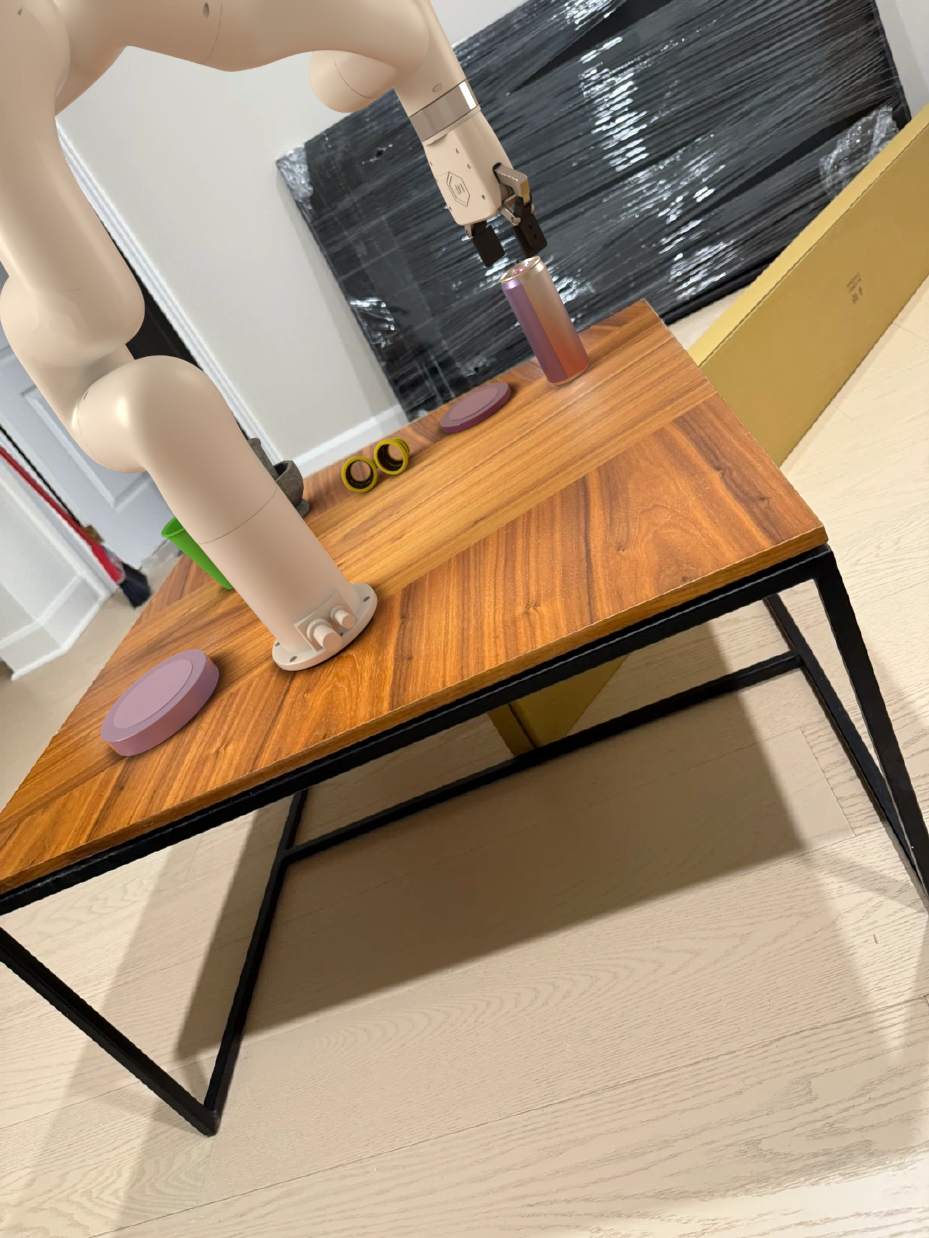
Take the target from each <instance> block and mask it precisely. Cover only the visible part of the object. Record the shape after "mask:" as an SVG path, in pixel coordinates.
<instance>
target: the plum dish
mask: <svg viewBox="0 0 929 1238" xmlns="http://www.w3.org/2000/svg"><path fill="white" fill-rule="evenodd" d="M511 395H512V390H511V388H510V385H508V383H507V382H505V381H498V382H492V383H489V384H486V385H483V386H482V387H480V388H478V389H475V390H474V391H472V392H470V393H468V394H466V395H465V396H463V397H462V398H461V399H459V400H457V401H456V402H455V403H453V404H452V405H451V406H450V407H449V408H448V409H447V410H446V411H445V412H444V414H443V415H442V416H441V417H440V420H439V426H440V428H441V429H442V430H443V432H444V433H447V434H454V433H458V432H462V431H464V430H467V429H470V428H472V427H474V426H476V425H479V424H480V423H481V422H483V421H485V420H486V419H488V418H489V417H491V416H493V415H494V414H495V413H496V412H497V411H499V410H500V409H502V407H503V406H504V405H505V404H506V403H507V402H508V401H509V399H510V397H511Z"/></svg>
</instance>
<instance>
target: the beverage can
mask: <svg viewBox="0 0 929 1238" xmlns="http://www.w3.org/2000/svg"><path fill="white" fill-rule="evenodd" d="M498 281H499V283H500V285H501V290H502V292H503V294H504V296H505V298H506V300H507V302H508V303H509V306H510V309H511V310H512V312H513V314H514V316H515V319H516V320H517V322H518V324H519V326H520V328H521V331H522V333H523V334H524V336H525V338H526V340H527V342H528V344H529V347H530V348H531V350H532V352H533V354H534V356H535V358H536V360H537V362H538V364H539V366H540V368H541V369H542V372H543V374H544V376H545V378H546V380H547V381H548V383H550V384H552V385H554V386H562V385H566V384H568V383H570V382H572V381H574V380H575V379H577V378H579V377H580V376H581V375H583V374H584V373H585V372H586V371H587V370H588V369H589V366H590V358H589V355H588V352H587V351H586V349H585V347H584V345H583V342H582V340H581V338H580V336H579V334H578V331H577V329H576V327H575V325H574V323H573V321H572V318H571V317H570V314H569V312H568V311H567V307H566V306H565V304H564V301H563V299H562V298H561V295H560V293H559V291H558V289H557V287H556V284H555V282H554V280H553V278H552V276H551V274H550V272H549V270H548V267H547V265H546V263H545V262H543V261H542V259H541V256H539V255H535V256H534V257H532V258H531V259H526V258H525V259H523V260H522V261H520V262H518V263H517V264H515V265H513V266H512V267H511V268H509V269H508V270H506V271H505V272H504V273H503V274H501V276H500V277H499V280H498Z"/></svg>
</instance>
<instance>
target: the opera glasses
mask: <svg viewBox="0 0 929 1238" xmlns="http://www.w3.org/2000/svg"><path fill="white" fill-rule="evenodd" d="M390 445H392V446H394V447H395V448H396V449H398V450H399V452H400V453H401V457H402V458H395V457H394V456H393V455H392V454H391V452H390ZM410 455H411V446H410V445H409V442H408V441H407V440H406V439H404V438H402V437H398V436H397V437H396V436H395V437H392V438H391V439H390V438H385V439H382V440H380V441H379V442H378V443H377V444H376V446H375V447H374V450H373V459H372V458H371V459H369V458H368V457H366V456H363V455H355V456H352V457H350V458H348V459H347V460H346V461H345V463H344V464H343V465H342V469H341V480H342V482H343V484H344V486H345V487H346V488H347V489H348V490H350V491H352V492H354V493H357V494H364V493H366V492H369V491H371V490H372V489H373V488H374V486H375V485H376V484H377V481H378V476H379V474H378V469H380V470H381V471H382V472H383V473H385V474H387V475H390V476H391V475H392V476H396V475H401V474H402V473H403V472H404V471H405V470H406V469H407V467H408V464H409V457H410ZM358 462H363V463H365V464H367V465H368V469H369V474H368V476H367V477H366V478H365V479H357V478H356V477H355V476H354V475H353V472H352V468H353V466H354V464H356V463H358Z"/></svg>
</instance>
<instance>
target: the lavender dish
mask: <svg viewBox="0 0 929 1238" xmlns="http://www.w3.org/2000/svg"><path fill="white" fill-rule="evenodd" d="M219 679H220V669H219V667H218V666H217V665H216V664H215V663H214V661H213V660H212V659H211V658H210V657H209V656H208V655H207V654H206V652H205V651H204V650H202V649H199V648H192V649H186V650H184V651H181V652H177V653H175V654H173V655H172V656H169V657H168V658H166V659H163V660H162V661H160V662H159V663H157V664H155V666H153V667H152V668H150V669H149V670H147V672H145V673H144V674H142V675H141V676H140V677H139V678H138V679H137V680H135V681H134V682H133V683H132V684H131V685H130V686H129V687H128V688H127V689H126V690H125V691H124V692H123V693H122V694H121V695H120V696H119V697H118V698H117V700H116V701H115V702H114V704H113V705H112V706H111V707H110V709H109V710H108V712H107V713H106V714H105V717H104V718H103V721H102V724H101V727H100V733H99V734H100V737H101V739H102V740H103V741H104V742H105V743H106V744H107V745H108V746H109V747H110V748H111V749H112V750H113V751H114V752H115V753H117V754H118V755H119V756H123V757H132V756H136V755H139V754H142V753H145V752H147V751H149V750H152V749H154V748H155V747H157V746H159V745H160V744H162V743H164V742H165V741H166V740H168V739H169V738H171V737H172V736H174V735H175V734H176V733H178V731H180V730H181V729H182V728H183V727H184V726H185V725H187V724H188V723H189V722H191V720H192V719H193V718H194V717H195V716H196V715H197V714H198V713H199V712H200V710H201V709H202V708H204V706H205V704H206V703H207V702H208V700H209V699H210V698H211V696H212V694H213V693H214V691H215V689H216V687H217V685H218V682H219Z"/></svg>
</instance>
